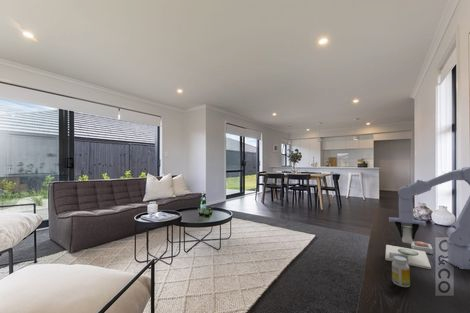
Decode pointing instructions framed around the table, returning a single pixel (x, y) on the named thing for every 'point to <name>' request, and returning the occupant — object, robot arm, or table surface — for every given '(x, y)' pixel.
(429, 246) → the button box
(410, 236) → the marker
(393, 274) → the supplement bottle
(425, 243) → the button
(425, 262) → the picture board
